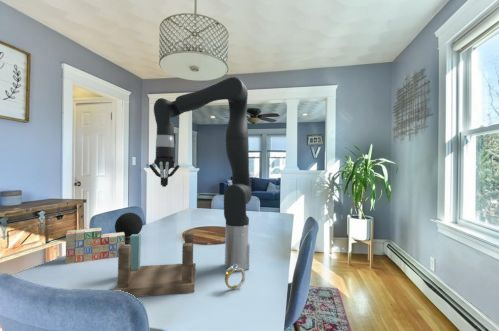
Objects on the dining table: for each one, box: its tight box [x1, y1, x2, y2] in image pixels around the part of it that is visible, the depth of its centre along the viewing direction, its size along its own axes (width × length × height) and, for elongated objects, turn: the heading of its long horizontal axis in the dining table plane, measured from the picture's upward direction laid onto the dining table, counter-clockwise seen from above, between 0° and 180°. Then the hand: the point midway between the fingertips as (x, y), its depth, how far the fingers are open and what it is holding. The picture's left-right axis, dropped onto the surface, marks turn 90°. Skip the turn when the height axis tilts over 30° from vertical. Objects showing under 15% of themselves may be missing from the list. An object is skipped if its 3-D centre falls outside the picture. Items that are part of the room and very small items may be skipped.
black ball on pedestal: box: [114, 212, 143, 245], centre depth 134 cm, size 13×13×15 cm
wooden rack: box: [112, 232, 197, 297], centre depth 88 cm, size 24×18×14 cm
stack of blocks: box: [65, 227, 125, 265], centre depth 110 cm, size 21×6×12 cm, turn 119°
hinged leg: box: [129, 233, 142, 270], centre depth 93 cm, size 3×3×12 cm
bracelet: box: [224, 264, 246, 291], centre depth 84 cm, size 7×3×8 cm, turn 114°
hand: (164, 186), depth 110 cm, fingers closed
